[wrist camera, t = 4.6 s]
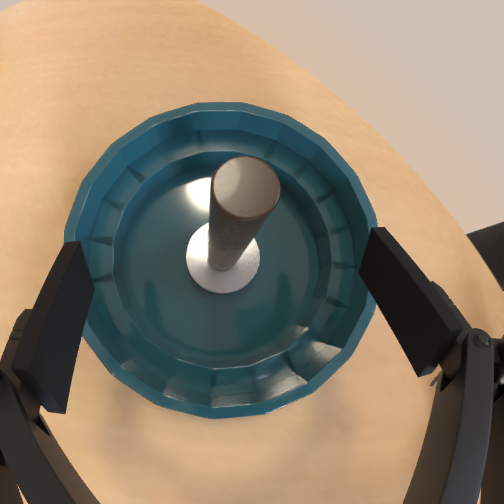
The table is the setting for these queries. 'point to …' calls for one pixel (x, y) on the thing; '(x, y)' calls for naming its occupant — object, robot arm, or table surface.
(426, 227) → the table surface
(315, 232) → the bowl
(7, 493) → the robot arm
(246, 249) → the brown rod
